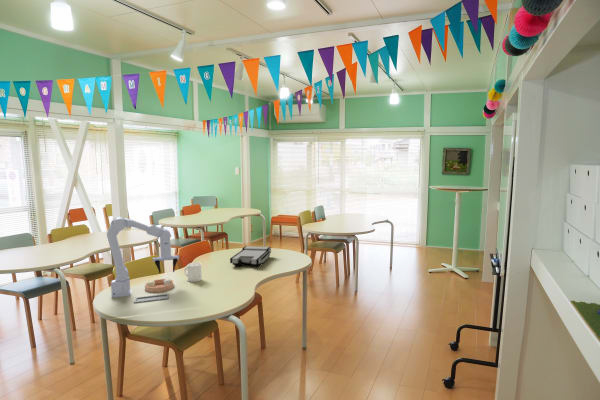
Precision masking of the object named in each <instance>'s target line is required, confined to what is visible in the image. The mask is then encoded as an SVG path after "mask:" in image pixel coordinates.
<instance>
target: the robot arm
mask: <svg viewBox="0 0 600 400" xmlns="http://www.w3.org/2000/svg"><path fill="white" fill-rule="evenodd" d="M125 228H126V229H129V228H134V229H138V230H142V231H144V232H146V234H147V235H149V236H153V237H155V238H159V239H160V242H159V243H160V256H157V257H152V263H154V265H156V268H157V270H158V274H161V273H162V270H161V262H162V261H163V262H164V261H172V269H173V270H172V273H175V269H176V265H177V264H178V260H180V255H172V250H171V249H172V247H171V245H172V244H171V242H172V241H171V237H172V234H171V232H170V231H169V230H168V229H166V228H164V227H159V226H157V225H156V224H155V223H153V224H149V225H147V224H145V223H141V222H139V221H136V220H134V219H131V218H127V217H122V216H116V217H115V218H113V219H112V220H111V221H110V225H109V227H108V229H107V232H106V238H107V241H108V245H109V248H110V252H111V254H112V255H111V256H112V258H113V259H112V260H113V262H114V266H115V279H113V280H111V283H110V289H111V298H119V297H129V296H131V295H132V293H133V291H132V290H131V281H130V280H131V279H130V274H129V269H128V268H127V266H126V265H125V262H124V259H123V258H124V257H123V254H122V250H121V248H120V244H119V240H118V237H117V235H118V234H119V233H120V232H121V231H123V230H124V229H125Z"/></svg>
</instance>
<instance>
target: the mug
mask: <svg viewBox="0 0 600 400" xmlns="http://www.w3.org/2000/svg"><path fill="white" fill-rule="evenodd" d="M184 275H186V277H187V280H188V282H190V283H197V282H200V281H202V276H203V275H202V263H201V262H190V263H188V264H187V265H186V266H185V267H184Z"/></svg>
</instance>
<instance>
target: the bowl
mask: <svg viewBox="0 0 600 400" xmlns="http://www.w3.org/2000/svg"><path fill="white" fill-rule="evenodd" d="M165 279H166V278H160V279H158V278H157V279H154V280H152V281H155V287H148V284H147V282H146V283H145V284H144V291H146V292H148V293H161V292H167V291H170V290H171V289H173V288H174V287H175V286H174V285H175V284H174V280H173V279H171V284H169V285H166V286H164V280H165Z"/></svg>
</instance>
